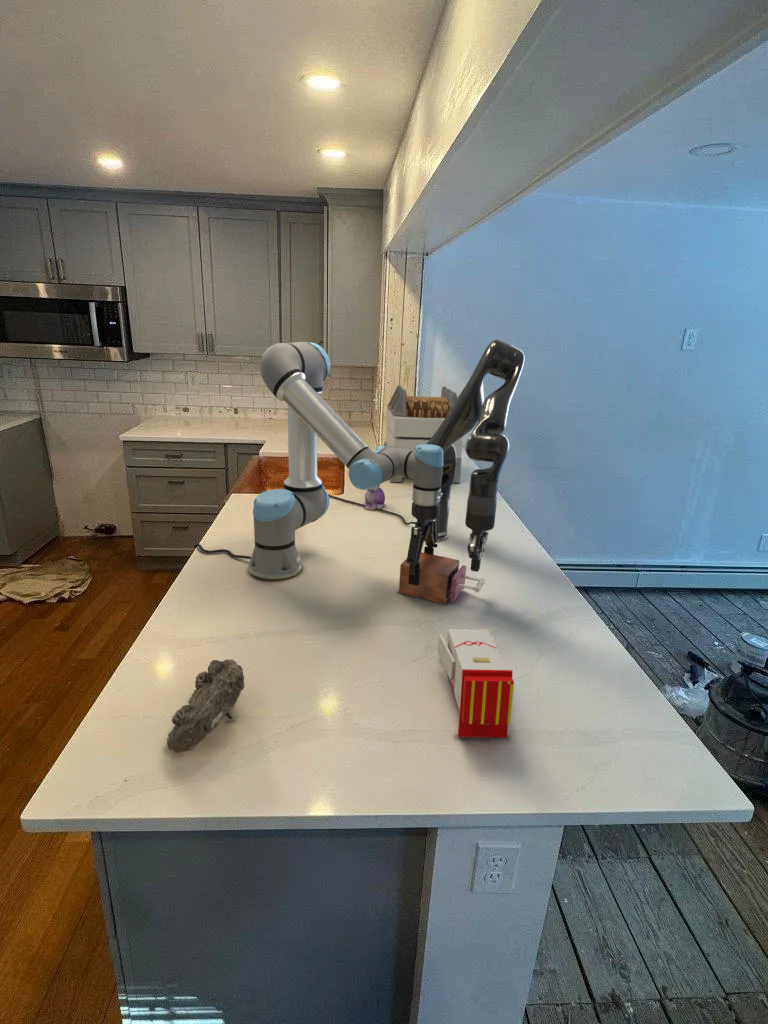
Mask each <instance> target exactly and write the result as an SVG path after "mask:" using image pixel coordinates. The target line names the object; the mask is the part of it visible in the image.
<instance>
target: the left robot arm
mask: <svg viewBox="0 0 768 1024" xmlns="http://www.w3.org/2000/svg"><path fill="white" fill-rule="evenodd" d="M259 370H260V376H261V377H262V381H263V383H264V384H265V386H266V387H267V389H268V390H269V391H270V392H271V393H272V395H273V396H274V397H275V398H276V400H278V401H280V402H285V403H286V404H287V445H288V447H287V448H288V449H287V450H288V476H287V477H286V478H285V479H284V480H283V488H274V489H268V490H264V491H262V492H260V493H259V494H258V495H257V496H256V497H255V498H254V500H253V507H252V515H253V533H254V548H253V551H252V554H251V556H250V555H242V554H234V553H232V551H231V550H229V549H225V548H220V549H212V550H211V549H210V550H209V549H208V550H207V549H205V548H204V547H203V546H202V544H200V543H196V544H195V545H194V546H193V547H194V548H199V550H201V552H203V553H206V554H215V553H226V554H229V556H231V557H232V558H235V559H245V560H249V564H248V569H249V570H248V571H249V573H250V575H252V576H253V577H255V578H257V579H259V580H265V581H282V580H288V579H290V578H293V577H295V576H297V575H298V574H300V573H301V571H302V559H301V556H300V554H299V551H298V549H297V546H296V531H297V530H298V529H301V528H302V527H304V526H306V525H308V524H310V523H314V522H316V521H318V520H319V519H321V518H322V517H323V516H324V515H325V514H326V513H327V511H328V509H329V506H330V496H329V495H330V494H329V492H328V491H327V490H326V487H325V486H324V485H323V480H322V479H321V478H320V477H319V476H318V438H319V439H320V440H321V441H322V443H324V444H325V445H326V446H327V447H328V448H329V449H330V451H331V452H332V453H333V454H334V455H335V456H336V457H337V458H338V459H339V460H340V461H341V463H343V465H344V466H346V468H347V469H348V478H349V480H350V483H351V484H352V486H353V487H355V488H356V489H358V490H362V491H367V489H370V488H374V487H376V486H378V485H379V484H380V485H382V484H383V483H385V482H388V481H391V480H390V479H392V478H394V477H396V476H399V477H402V478H404V479H410V480H412V495H411V501H412V503H411V512H410V514H411V516H412V517H413V518H414V519H416V522H417V523H416V524H414V526H412V527H411V531H410V539H409V545H408V551H407V556H406V559H407V560H406V559H405V560H406V563H409V580H408V584H412V585H416V586H418V584H419V569H420V563H419V559H420V555H421V552H422V550H423V553H428V554H432V555H435V554H434V553H435V548H438V546H439V545H438V541H437V524H436V520H437V518H438V516H439V508H440V505H439V502H440V496H442V493H440V492H441V481H442V471H443V465H444V463H443V449H442V448H441V447H439V446H437V445H432V444H430V445H428V444H421V445H418V446H417V447H416V449H415V451H411V450H406V449H400V448H395V447H392V446H384V445H379V446H377V447H376V448H375V450H374V451H373V450H372V449H371V448H370V447H369V446H368V445H367V444H366V443H365V442H364V441H363V440H362V439H361V437H360V436H358V435H357V434H356V432H354V430H353V429H352V428H351V427H350V426H349V425H348V424H347V423H346V422H345V421H344V420H343V419H342V417H340V415H339V414H338V413H337V412H336V411H335V410H334V409H333V408H332V407H331V406H330V405H329V404H328V403H327V402H326V401H325V400H324V399H323V398H322V397H321V394H322V393H323V392H324V389H323V387H324V386H323V385H324V384H323V383H324V382H325V381H326V380H327V378H328V377H329V376H330V372H331V361H330V357H329V355H328V353H327V351H326V350H325V349H324V348H323V347H322V346H321V345H319V344H317V343H315V342H310V341H296V342H293V341H292V342H277V343H275V344H273V345H271V346H269V347H267V349H266V350H265V351H264V352H263V354H262V356H261V358H260V361H259ZM328 494H329V495H328ZM421 536H423V537H421ZM424 543H425V546H424ZM423 546H424V549H423Z"/></svg>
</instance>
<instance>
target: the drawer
mask: <svg viewBox="0 0 768 1024" xmlns="http://www.w3.org/2000/svg"><path fill="white" fill-rule="evenodd" d="M466 574H467V565H464V564H462V565H461V566H460V567H459V570H458V572H457V573H456V568H455V569H454V570H453V572H452V573H451V574H450V576H449V577H448V587H447V595H448V594H449V593H450V591H451V595H450V598H449V602H451V603H455V602H456V600H457V599H458V597H459V596H460V594H461V593H462V591H463V590H464V589H467V590H473V591H474V592H475V593H479V592H480V591H481V589H482V588H483V586H484V585H485V583H486V581H487V580H486V578H485V577H481V578H479V577H473V576H469V575H466ZM466 579H467V580H472V581H475V582H477V584H476V586H471V585H467V584H465V583H466Z"/></svg>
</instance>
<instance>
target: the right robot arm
mask: <svg viewBox="0 0 768 1024" xmlns="http://www.w3.org/2000/svg"><path fill="white" fill-rule="evenodd" d="M524 363H525V352H523V350H521V349H519V348H517V347H515V346H514V345H512V344H509V343H507V342H505V341H503V340H500V339H493V340H492V341H490V342H489V343H488V345H487V346H486V347H485V349H484V351H483V352H482V354H481V356H480V358H479V360H478V361H477V364H476V366H475V367H474V370H473V372H472V374H471V375H470V377H469V379H468V381H467V382H466V384H465V386H464V388H462V390H461V392H460V393H459V394H458V395H457V399H456V401H455V402H454V404H453V406H452V407H451V409H450V411H449V413H448V414H447V416H446V418H445V419H444V421H443V422H442V424H441V425H440V427H439V428H438V430H437V431H436V433H435V434H434V435H433V436H432V438H431V439H430V440H429V441H428V443H427V444H428V445H430V444H432V445H437V446H439V447H441V448H442V449H443V463H444V465H443V471H442V481H441V492H440V493H442V496H440V502H439V505H440V508H439V516H438V518H437V520H436V524H437V542H440V541H444V540H446V539H447V538H448V525H449V517H450V516H449V514H450V504H451V494H452V493H451V491H452V486H453V484H454V483H453V481H454V475H455V468H456V450H455V448H454V446H453V445H452V444H453V443H455V442H456V441H457V440H459V439H463V438H464V437H465V436H466V435H467V434H469V433H470V432H471V431H472V432H471V433H470V434H469V436H468V438H467V440H466V443H465V454H466V457H468V458H469V459H470V460H471V461H476V462H484V463H492V464H491V465H490V466H489V467H486V468H478V469H475V470H473V471H471V473H470V480H469V491H468V496H467V502H466V512H465V522H464V523H465V527H467V528H468V529H470V530H471V533H469V536H468V537H469V539H468V540H469V543H468V544H467V546H466V547H467V548H466V549H467V555H468V558H469V559H471V561H470V571H471V572H475V573H477V572H479V571H480V569H481V564H482V563H481V562H482V558H483V555H484V552H485V549H486V545H487V540H488V537H489V532H490V531H492V530H493V529H494V528H495V522H496V513H497V504H498V503H497V502H498V499H497V496H498V495H497V494H498V486H499V479H500V475H501V471H502V468H503V465H504V463H505V461H506V459H507V457H508V454H509V452H510V441H509V439H508V438H507V436H505V435H504V434H503V433H504V431H505V429H506V426H507V420H508V416H509V415H508V414H509V409H510V405H511V402H512V398H513V397H514V394H515V391H516V388H517V385H518V382H519V380H520V377H521V374H522V371H523V368H524ZM487 374H489V375H490V376H493V377H495V378H498V379H500V380H503V381H504V383H503V384H502V385H500V386H499V387H498V388H497V389H495V390H493V391H492V392H490V393H489V394H488V395H487V396H486V397H485V395H484V394H485V393H484V379H485V376H486V375H487ZM462 437H463V438H462ZM328 495H329V498H333V499H336V500H339V501H342V502H346V503H349V504H354V505H358V506H361V507H366V505H364V504H365V503H359V502H356V501H351V500H348V499H344V498H341V497H338V496H335V495H332V494H329V493H328ZM375 510H376V511H379V512H384V513H387V514H390V515H393V516H396V517H399V518H401V520H402V521H403V522H402V523H404V525H406V526H408V525H415V524H416V523H417V521H409V522H407V521H406V520H405V518H404V517H403V515H401V514H399V513H396V512H394V511H393V512H392V511H389V510H386V509H382V508H380V509H379V508H375ZM421 537H423V536H421Z"/></svg>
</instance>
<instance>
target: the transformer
mask: <svg viewBox="0 0 768 1024" xmlns="http://www.w3.org/2000/svg"><path fill="white" fill-rule="evenodd" d="M440 393H441V394H440V396H415V395H414V396H413V395H412V396H411V395H407V394H408V393H407V390H406V389H404V388H403V387H402V385H399V384H398V385H397V386H396V388H395V390H394V392H393V394H392V395H391V398H390V400H389V402H388V404H387V405H386V413H385V414H386V415H385V423H386V428H385V438H384V442H383V446H392V447H395V448H400V449H406V450H411V451H415V449H416V447H417V446H418V445H421V444H427V443H428V441H429V440H430V439H431V438H432V436H433V435H434V434H435V433H436V431H437V430H438V428H439V427H440V425H441V424H442V422H443V421H444V419H445V418H446V416H447V414H448V413H449V411H450V409H451V407H452V406H453V404H454V402H455V401H456V399H457V398H458V395H457V392H455V391H453V390H452V389H451V388H447V386H442V387H441V392H440ZM463 438H464V436H463V437H462V438H460V439H459V440H457V441H456V442H455V443H453V444H452V445H453V446H454V448H455V450H456V468H455V475H454V481H453V484H455V483H456V484H459V483H461V472H462V461H463V460H462V453H463V442H464V441H463V440H462V439H463ZM389 481H390V482H391V483H402V482H403V477H399V476H396V477H394V478H392V479H390V480H389Z"/></svg>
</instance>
